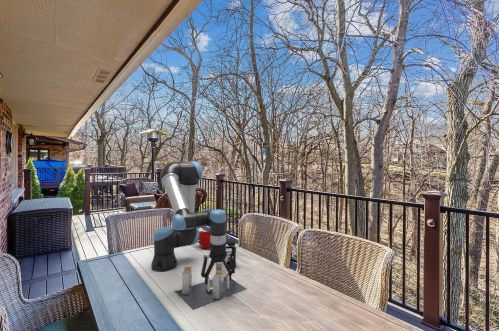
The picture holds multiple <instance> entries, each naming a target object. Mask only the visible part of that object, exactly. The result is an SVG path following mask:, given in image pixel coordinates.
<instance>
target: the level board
mask: <svg viewBox="0 0 499 331" xmlns="http://www.w3.org/2000/svg"><path fill="white" fill-rule="evenodd" d="M246 290H248V288H246V287H245V286H243V285H242V284H241V283H239V282H237V281H236V280H234V279H233V278H231V281H229V289H228V288H227V281H226V278H225V279H224V292H223V294H222V295H221V297H220V299H213V293H212V279H210V292H208V290H207V285H206V284H205V281H203V282H200V283H196V284H194V285H193V284H192V288H191V290H190V293H189V294H182V289H178V290H174V293H175V294H176V295H177V296H178V297H179V298H180V299H181V300H182V301H184V303H185V304H186V305H187V306H189V307H190V309H191V310H192V311H195V310H197V309H200V308H203V307H205V306H208V305H210V304H212V303H216V302H218V301H221V300H224V299H225V298H228V297H231V296H233V295H236V294H238V293H241V292H244V291H246ZM189 307H188V308H189Z"/></svg>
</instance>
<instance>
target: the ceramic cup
mask: <svg viewBox="0 0 499 331" xmlns="http://www.w3.org/2000/svg"><path fill="white" fill-rule="evenodd" d="M197 243H198V244H199V245H200V246H201V248H202V249H203V250H208V249H209V250H210V244H211V243H210V230H209V231H207V230H206V231H201V232H200V231H199V239H198V241H197Z"/></svg>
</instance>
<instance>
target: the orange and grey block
mask: <svg viewBox="0 0 499 331" xmlns="http://www.w3.org/2000/svg"><path fill="white" fill-rule="evenodd" d="M192 268H193V267H192V266H185V267H184V269H183V272H182V273H181V286H182V294H189V293H190V290H191V288H192V286H193V284H192V283H193V281H192V280H193V279H192V278H193V276H192Z"/></svg>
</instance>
